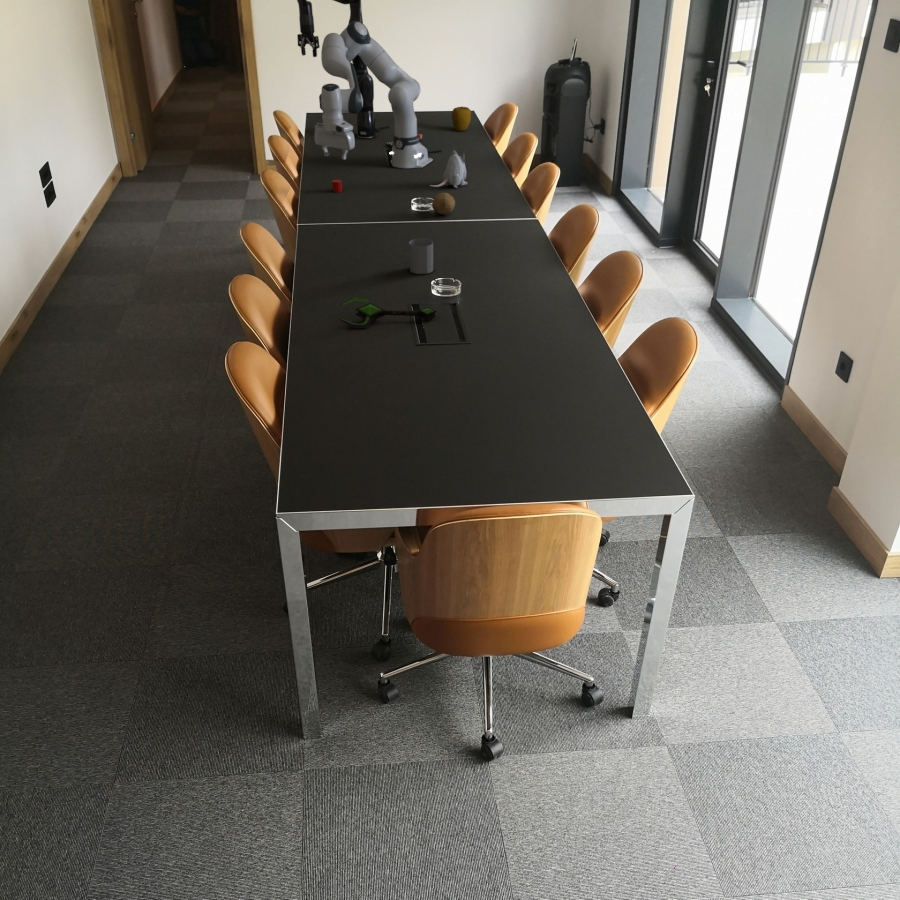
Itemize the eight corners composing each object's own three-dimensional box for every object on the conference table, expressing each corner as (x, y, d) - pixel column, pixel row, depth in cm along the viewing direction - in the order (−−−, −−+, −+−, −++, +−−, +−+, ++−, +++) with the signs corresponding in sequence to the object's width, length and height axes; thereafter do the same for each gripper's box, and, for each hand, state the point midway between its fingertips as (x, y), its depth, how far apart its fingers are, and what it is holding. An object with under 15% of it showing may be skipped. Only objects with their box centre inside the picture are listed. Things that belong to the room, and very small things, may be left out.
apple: (471, 132, 486) (471, 108, 479) (451, 132, 486) (451, 108, 479) (470, 128, 495) (471, 104, 488) (452, 128, 495) (452, 104, 488)
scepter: (436, 292, 272) (340, 290, 270) (437, 322, 265) (338, 320, 263) (435, 305, 277) (341, 303, 275) (436, 335, 270) (339, 333, 268)
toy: (472, 184, 399) (472, 151, 391) (436, 195, 384) (436, 161, 376) (457, 180, 404) (458, 147, 396) (422, 191, 389) (421, 157, 381)
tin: (342, 192, 389) (341, 182, 387) (332, 192, 389) (332, 182, 386) (341, 189, 393) (341, 179, 390) (332, 189, 392) (331, 179, 390)
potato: (453, 208, 369) (453, 189, 365) (456, 218, 357) (456, 199, 353) (431, 208, 368) (430, 189, 364) (432, 218, 356) (432, 199, 352)
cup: (409, 265, 311) (408, 238, 306) (432, 265, 312) (431, 238, 307) (410, 274, 304) (409, 246, 299) (433, 273, 305) (433, 246, 299)
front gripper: (310, 123, 378) (312, 155, 385) (346, 129, 368) (348, 162, 376) (319, 120, 382) (321, 152, 390) (356, 126, 373) (357, 159, 380)
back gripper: (292, 22, 464) (295, 55, 473) (311, 24, 457) (313, 58, 465) (302, 21, 469) (305, 54, 478) (321, 23, 462) (323, 56, 470)
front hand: (335, 157), depth 383 cm, fingers open, 8 cm apart
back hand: (309, 56), depth 472 cm, fingers open, 8 cm apart
